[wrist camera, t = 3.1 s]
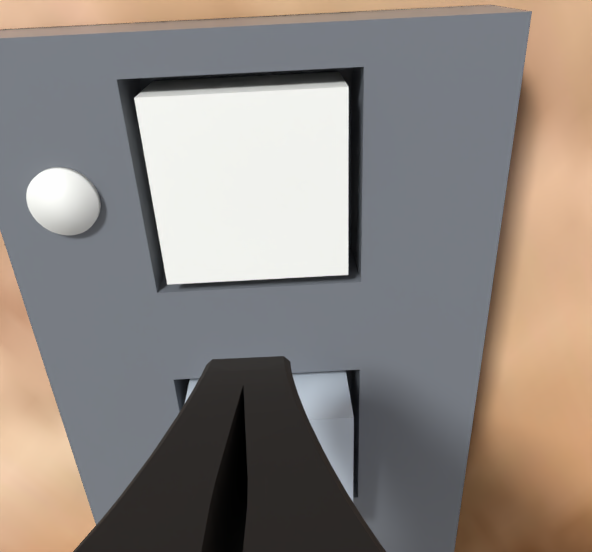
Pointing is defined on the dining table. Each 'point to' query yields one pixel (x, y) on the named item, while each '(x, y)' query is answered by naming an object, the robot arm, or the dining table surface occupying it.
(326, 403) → the key grey
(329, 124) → the key cream
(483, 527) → the dining table surface
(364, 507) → the grey flat block
